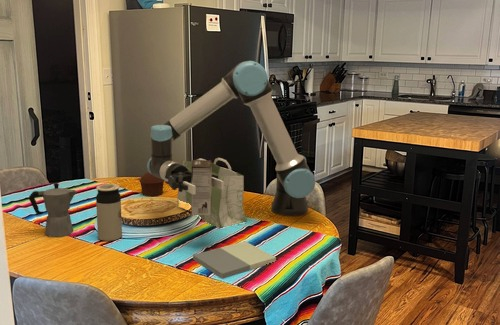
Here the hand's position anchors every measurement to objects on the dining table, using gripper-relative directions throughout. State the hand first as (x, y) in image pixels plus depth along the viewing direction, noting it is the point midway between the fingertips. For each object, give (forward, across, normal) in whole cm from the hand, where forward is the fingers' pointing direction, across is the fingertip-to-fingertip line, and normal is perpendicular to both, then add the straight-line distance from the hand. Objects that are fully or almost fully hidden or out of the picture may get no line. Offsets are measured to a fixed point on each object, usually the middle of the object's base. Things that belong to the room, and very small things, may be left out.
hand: (208, 187), depth 152 cm
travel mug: (-28, +22, -21) cm, 42 cm away
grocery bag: (-29, -20, -21) cm, 42 cm away
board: (+12, -2, -21) cm, 24 cm away
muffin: (-68, -14, -21) cm, 73 cm away
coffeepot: (-42, +36, -21) cm, 59 cm away
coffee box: (-4, 0, -9) cm, 10 cm away
